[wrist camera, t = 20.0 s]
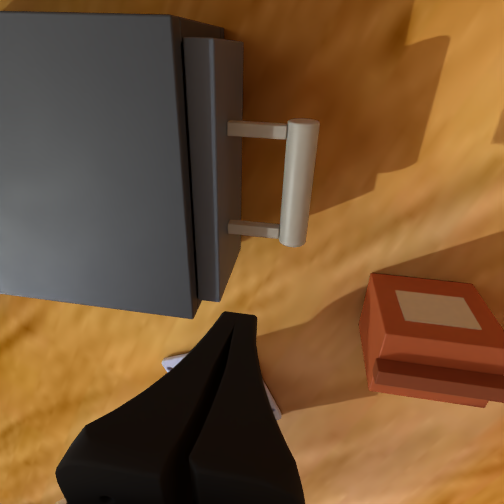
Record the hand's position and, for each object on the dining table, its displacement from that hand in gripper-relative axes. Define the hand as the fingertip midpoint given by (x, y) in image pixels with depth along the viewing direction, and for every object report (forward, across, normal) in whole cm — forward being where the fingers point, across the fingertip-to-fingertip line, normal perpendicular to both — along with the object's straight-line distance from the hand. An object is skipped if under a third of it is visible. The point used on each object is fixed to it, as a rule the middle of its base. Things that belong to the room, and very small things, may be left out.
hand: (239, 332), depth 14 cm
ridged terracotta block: (+10, -10, +5) cm, 16 cm away
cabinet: (+10, +10, -4) cm, 15 cm away
